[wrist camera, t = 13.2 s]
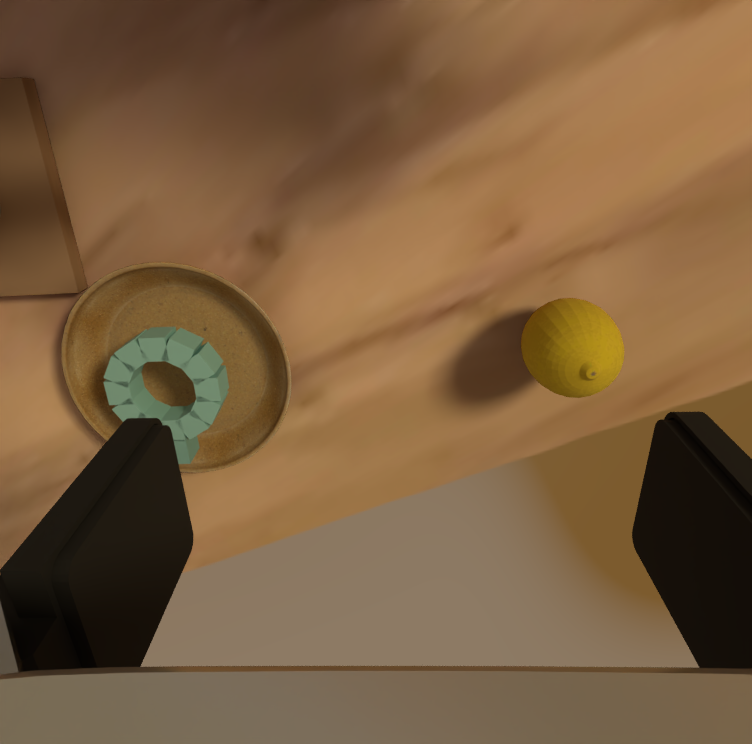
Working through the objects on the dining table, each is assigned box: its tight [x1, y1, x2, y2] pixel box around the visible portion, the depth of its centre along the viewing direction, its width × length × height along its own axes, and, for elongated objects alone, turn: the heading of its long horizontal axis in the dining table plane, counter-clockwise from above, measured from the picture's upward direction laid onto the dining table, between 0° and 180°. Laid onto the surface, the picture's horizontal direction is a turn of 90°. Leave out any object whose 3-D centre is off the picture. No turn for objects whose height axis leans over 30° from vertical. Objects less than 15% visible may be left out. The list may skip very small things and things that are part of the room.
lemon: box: [521, 298, 624, 398], centre depth 34 cm, size 6×6×8 cm
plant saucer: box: [61, 262, 291, 473], centre depth 38 cm, size 15×15×3 cm
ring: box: [103, 327, 229, 464], centre depth 36 cm, size 9×7×2 cm
